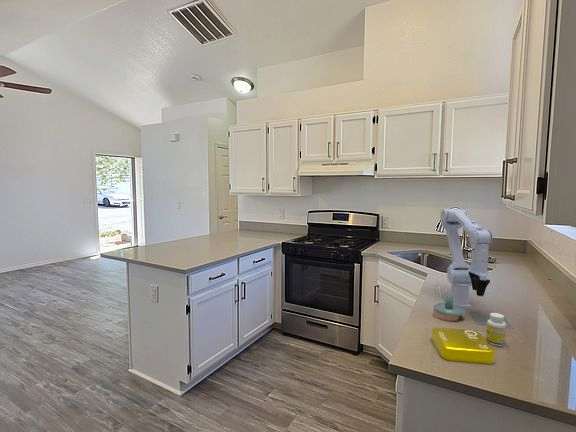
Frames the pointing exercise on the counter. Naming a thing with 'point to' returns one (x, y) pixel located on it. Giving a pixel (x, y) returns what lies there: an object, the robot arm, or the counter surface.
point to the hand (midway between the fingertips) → (477, 292)
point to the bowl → (445, 316)
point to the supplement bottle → (496, 329)
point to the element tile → (462, 345)
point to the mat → (486, 319)
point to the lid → (449, 307)
